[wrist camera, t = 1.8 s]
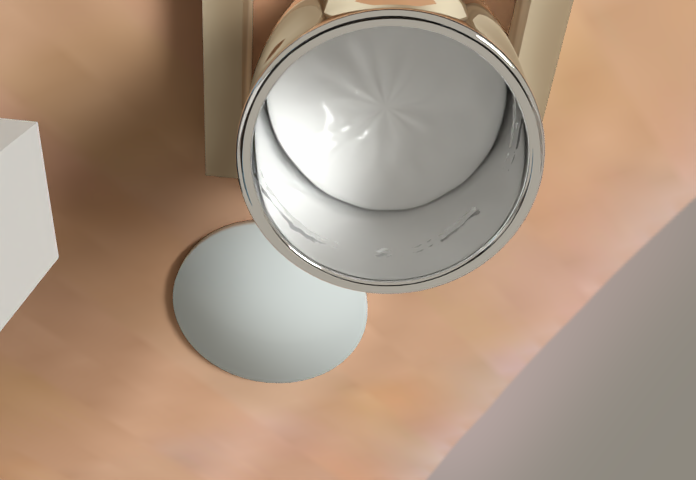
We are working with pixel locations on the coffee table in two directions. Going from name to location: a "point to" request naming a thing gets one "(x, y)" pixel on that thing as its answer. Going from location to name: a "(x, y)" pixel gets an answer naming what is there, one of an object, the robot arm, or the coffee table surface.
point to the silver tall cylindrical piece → (389, 141)
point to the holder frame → (236, 65)
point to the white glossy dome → (263, 309)
